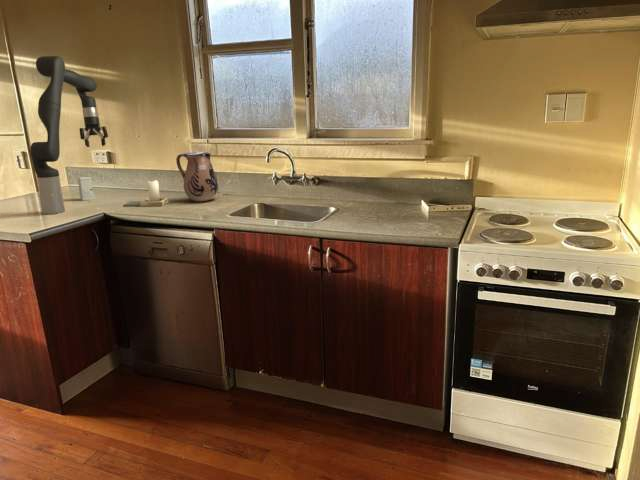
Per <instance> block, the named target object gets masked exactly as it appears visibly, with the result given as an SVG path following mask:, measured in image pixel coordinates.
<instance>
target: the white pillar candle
mask: <svg viewBox="0 0 640 480" xmlns="http://www.w3.org/2000/svg"><path fill="white" fill-rule="evenodd" d="M146 181H147V180H146ZM159 187H160V186H159V181H158V180H156V179H153V180H152V179H151V180H148V181H147V192H148V198H149V201H150V202H155V201H160V198H161V195H160V188H159Z"/></svg>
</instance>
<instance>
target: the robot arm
mask: <svg viewBox="0 0 640 480" xmlns="http://www.w3.org/2000/svg"><path fill="white" fill-rule="evenodd" d="M35 68H36V69H37V70H36V71H37V72H38V73H39V74H40V75H42V76H43V77H47V78H50V82H49V83H48V86H47V87H46V89H45V90H43V93H42V94H41V95H40V96H39V100H38V104H37V105H38V107H37V114H38V117H39V119H40V121H41V123H42V124H43V126H44V128H45V130H46V133H47V140H46V141H36V142H35V141H34V142H32V144H31V145H30V147H29V148H30V156H31V157H30V158H31V161H32V165H33V170H34V172H35V174H36V178H37V184H38V190H39V194H38V195H39V196H38V197H39V200H40V207H41V213H42V215H54V214H60V213H64V212H65V211H66V208H65V203H64V197H63V191H62V185H61V179H60V178H61V177H60V171H59V170H58V169H57V168H53V167H52V166H50V165H49V164H48V163H53V162H57V161H58V160H59V158H60V153H61V152H60V122H61V111H62V94H63V93H62V92H63V85H64V83H66V84H68V85H70V86H71V87H73V88H75V89H76V92H77V94H78V97H79V99H80V101H81V107H82V117H83V121H84V122H83V123H84V127H83V128H82V127H80V128H79V137H80V139H81V140H84V144H85V147H86V148H90V141H89V140H90V139H89V138H90V137H91V136H98V137H100V142H101V146H102V147H104V146H106V139H107V138H108V137H109V135H108V134H109V133H108V130H107V127H106V126H101V124H100V119H99V112H98V108H97V103H96V98H95V97H94V96H89V95H88V94H87V93H92V92H95V91H96V90H97V87H98V86H97V82H96V80H94V78H92V77H90V76H86V75H83V74H82V75H81V74H79V73H78V72H75V71H74V70H71V69H68V68H66V64H65V61H64V59H63V58H62V57H61V56H58V55H46V56H45V55H43V56H40V57H37V59H36V61H35ZM101 131H102V132H101ZM85 132H86V133H85Z"/></svg>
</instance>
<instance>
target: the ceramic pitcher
mask: <svg viewBox="0 0 640 480" xmlns="http://www.w3.org/2000/svg"><path fill="white" fill-rule="evenodd" d="M182 157H185V158H186V160H187V164H186V168H185V169H186V170H185V171H184V169H183V167H182V164H181V158H182ZM175 162H176V166H177V168H178V171H179V173H180V174H181V176H182V178H183V190H184V192H185V195H186V197H188V198H189V199H190V200H192V201H193V202H207V201H211V200H212V199H214V198H215V196H216V195H217V193H218V190H219V184H218V179H217V176H216V173H215V170H214V167H213V165H212V161H211V153H210V152H206V151H201V152H196V151H195V152H182V153H179V154H178V155H177V156H176V161H175Z"/></svg>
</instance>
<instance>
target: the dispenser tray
mask: <svg viewBox="0 0 640 480" xmlns="http://www.w3.org/2000/svg"><path fill="white" fill-rule="evenodd" d="M141 201H142V202H140V206H139V207H142V208H143V207H163V206H165V205H167V204H169V203H170V197H160V201H155V202H150V201H149V197H148V198H146V199H144V200H141Z"/></svg>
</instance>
